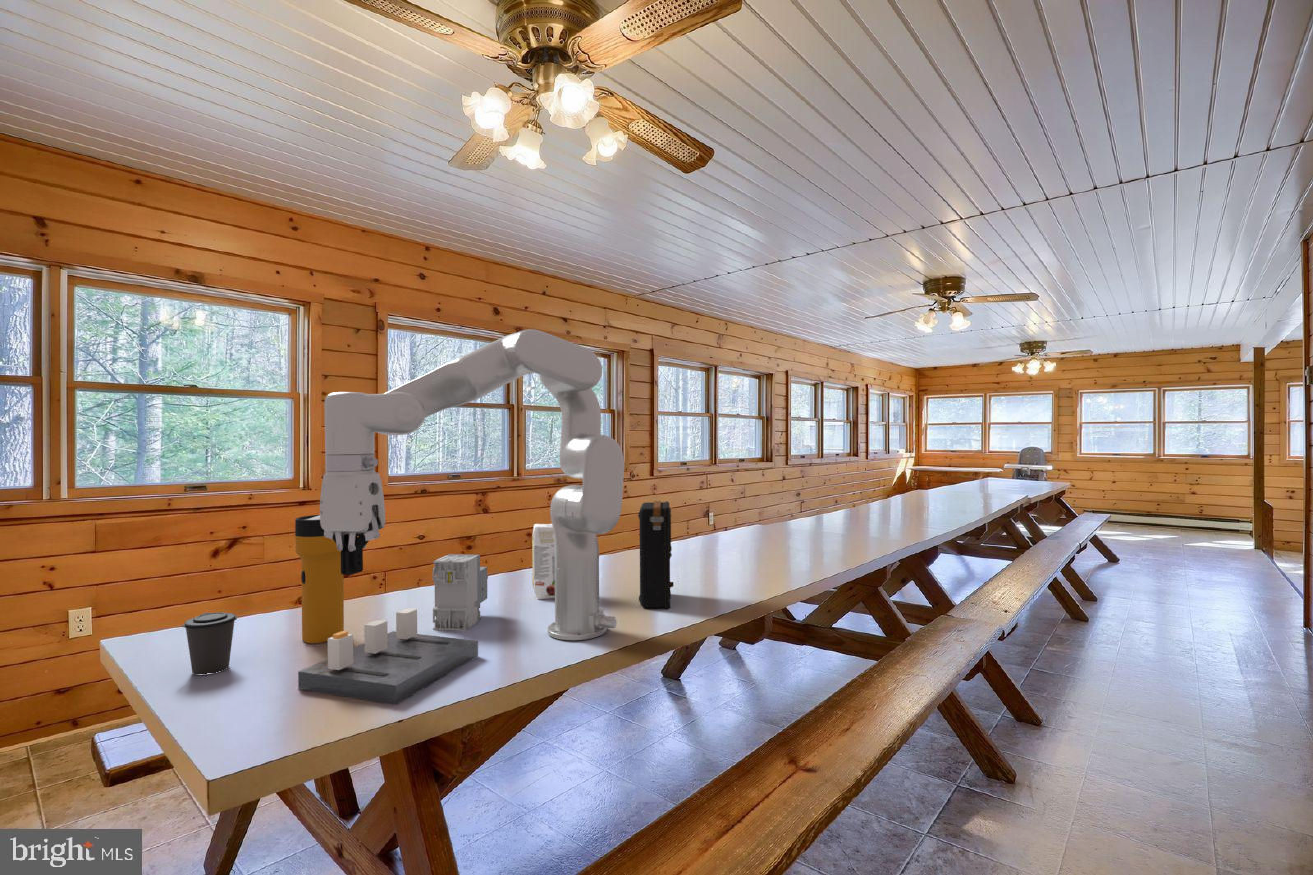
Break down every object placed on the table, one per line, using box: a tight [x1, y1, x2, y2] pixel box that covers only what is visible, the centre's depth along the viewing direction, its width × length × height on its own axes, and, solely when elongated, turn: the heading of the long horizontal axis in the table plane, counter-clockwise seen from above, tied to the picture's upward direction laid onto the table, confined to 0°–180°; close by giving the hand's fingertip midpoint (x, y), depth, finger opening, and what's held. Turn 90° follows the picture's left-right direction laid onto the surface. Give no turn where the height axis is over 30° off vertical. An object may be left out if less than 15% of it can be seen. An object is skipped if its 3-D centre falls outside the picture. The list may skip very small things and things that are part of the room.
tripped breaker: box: [327, 630, 354, 670], centre depth 103 cm, size 2×3×6 cm
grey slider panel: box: [297, 630, 479, 705], centre depth 109 cm, size 20×22×3 cm
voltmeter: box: [637, 500, 674, 610], centre depth 155 cm, size 16×9×25 cm, turn 179°
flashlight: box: [294, 514, 346, 644], centre depth 128 cm, size 10×26×10 cm
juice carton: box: [531, 523, 555, 600], centre depth 161 cm, size 8×9×19 cm
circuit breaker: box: [432, 553, 489, 631], centre depth 140 cm, size 8×14×15 cm, turn 174°
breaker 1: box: [363, 619, 388, 654], centre depth 110 cm, size 2×3×5 cm
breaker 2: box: [395, 607, 418, 639], centre depth 118 cm, size 2×3×5 cm
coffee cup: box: [182, 611, 238, 674], centre depth 110 cm, size 8×8×10 cm
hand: (352, 572), depth 103 cm, fingers closed
